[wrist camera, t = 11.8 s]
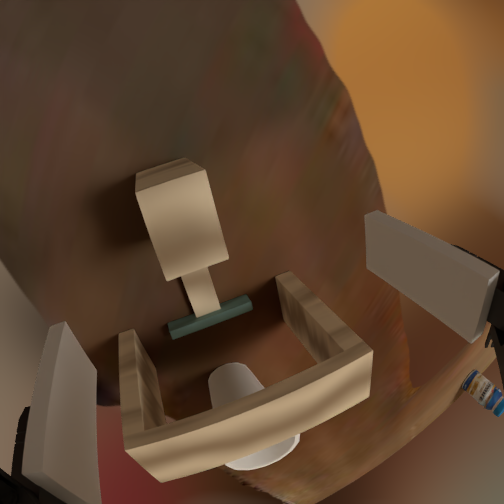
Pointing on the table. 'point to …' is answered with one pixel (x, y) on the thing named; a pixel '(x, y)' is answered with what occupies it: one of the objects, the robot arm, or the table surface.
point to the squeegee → (187, 239)
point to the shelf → (251, 406)
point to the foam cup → (235, 387)
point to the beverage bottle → (484, 392)
